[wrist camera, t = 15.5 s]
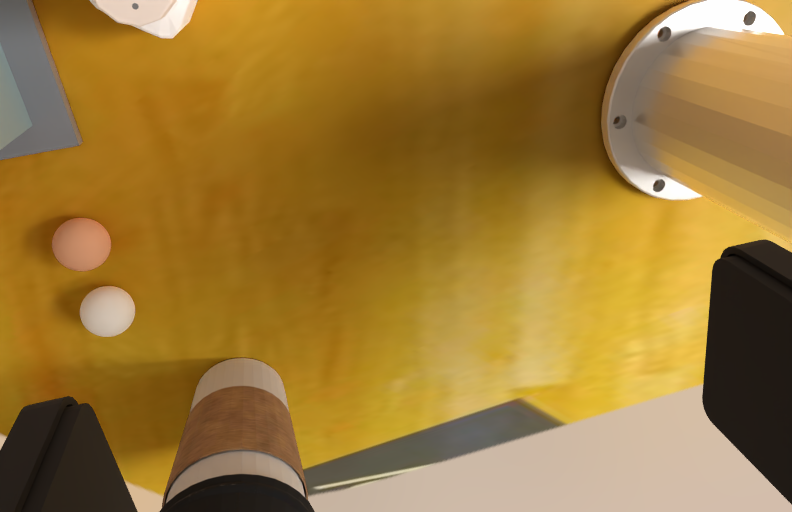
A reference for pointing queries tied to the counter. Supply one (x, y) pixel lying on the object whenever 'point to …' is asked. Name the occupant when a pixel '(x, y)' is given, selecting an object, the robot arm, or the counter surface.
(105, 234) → the terracotta ball
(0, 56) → the sage green block
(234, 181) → the counter surface
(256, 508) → the coffee cup
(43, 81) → the plate
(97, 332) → the cream ball
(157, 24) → the pepper shaker
